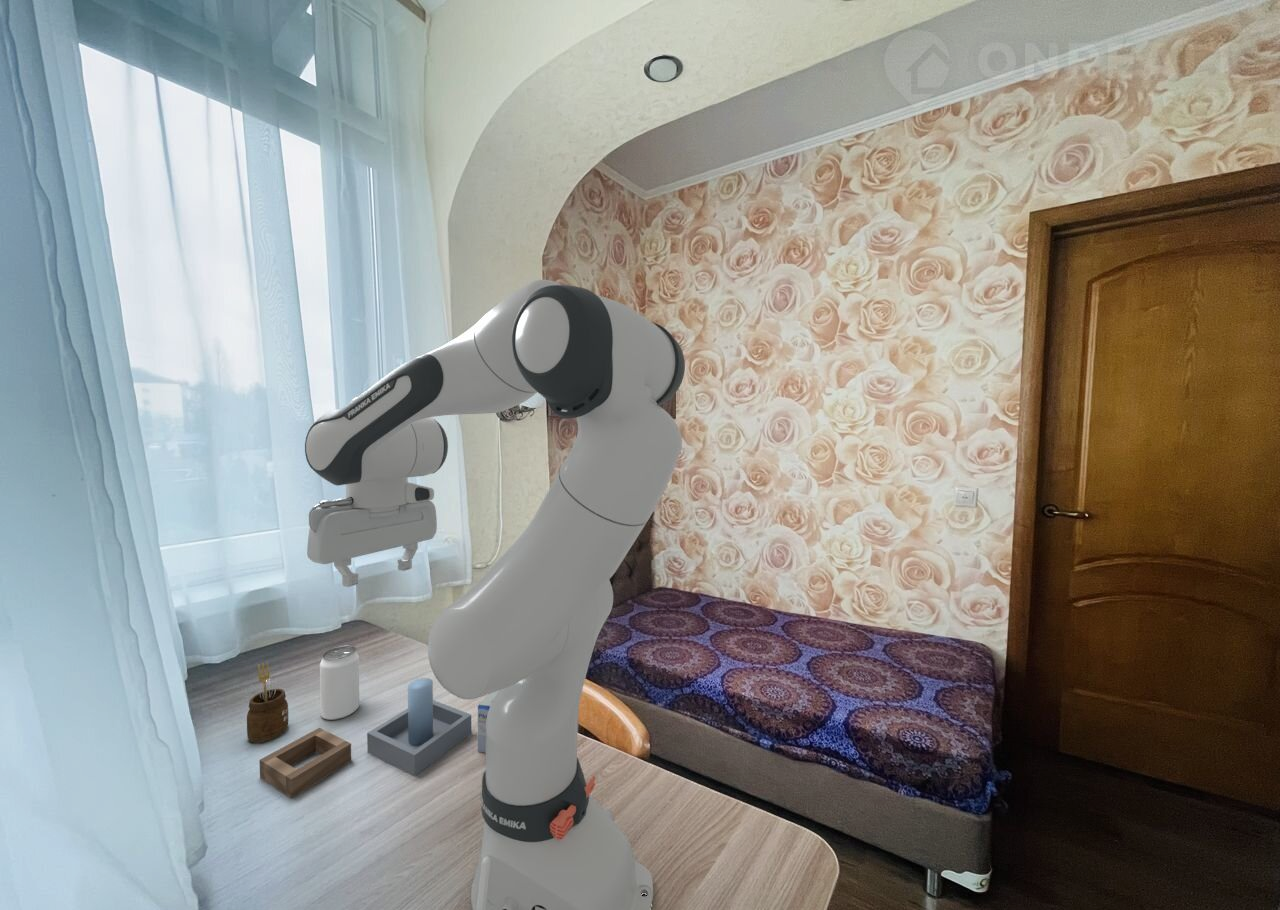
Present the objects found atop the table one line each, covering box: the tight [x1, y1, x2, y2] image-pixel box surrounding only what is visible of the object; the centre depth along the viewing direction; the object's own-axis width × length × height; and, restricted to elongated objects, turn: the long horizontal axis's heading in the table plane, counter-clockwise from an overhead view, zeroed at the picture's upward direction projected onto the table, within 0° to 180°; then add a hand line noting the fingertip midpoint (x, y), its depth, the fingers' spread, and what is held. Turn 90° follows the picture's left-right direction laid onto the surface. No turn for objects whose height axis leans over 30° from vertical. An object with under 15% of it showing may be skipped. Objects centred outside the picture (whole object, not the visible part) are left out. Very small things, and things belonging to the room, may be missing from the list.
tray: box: [366, 699, 472, 777], centre depth 82 cm, size 12×12×4 cm
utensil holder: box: [246, 661, 289, 744], centre depth 84 cm, size 6×6×12 cm
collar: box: [259, 727, 352, 799], centre depth 75 cm, size 9×9×3 cm
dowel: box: [407, 677, 434, 746], centre depth 82 cm, size 4×4×10 cm
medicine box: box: [477, 691, 499, 754], centre depth 83 cm, size 8×4×9 cm, turn 168°
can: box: [319, 645, 360, 721], centre depth 91 cm, size 6×6×12 cm
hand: (379, 577), depth 76 cm, fingers open, 8 cm apart
